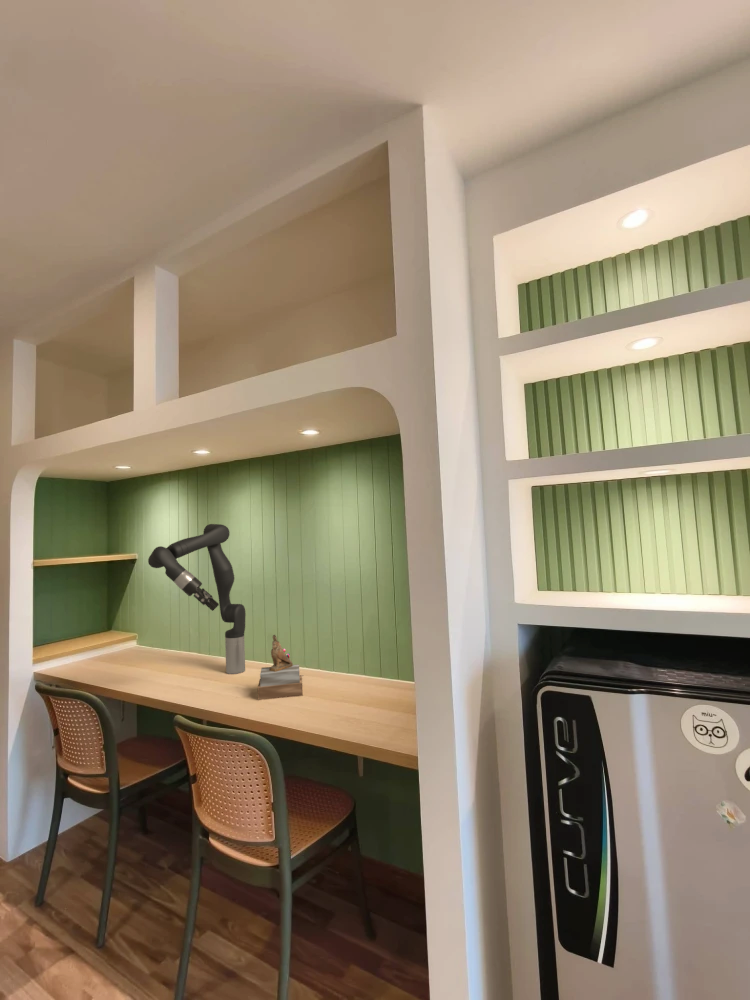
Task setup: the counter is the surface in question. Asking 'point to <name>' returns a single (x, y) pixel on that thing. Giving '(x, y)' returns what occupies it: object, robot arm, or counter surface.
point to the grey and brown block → (280, 683)
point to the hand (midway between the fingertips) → (216, 607)
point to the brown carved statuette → (279, 657)
